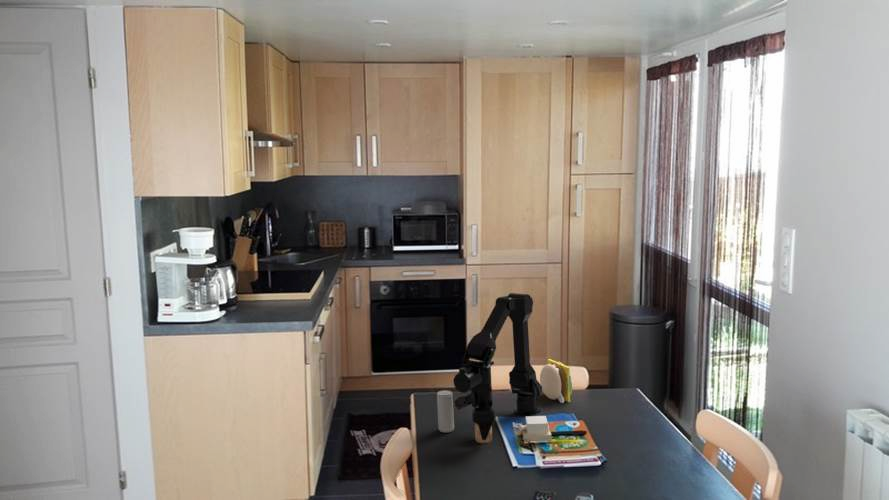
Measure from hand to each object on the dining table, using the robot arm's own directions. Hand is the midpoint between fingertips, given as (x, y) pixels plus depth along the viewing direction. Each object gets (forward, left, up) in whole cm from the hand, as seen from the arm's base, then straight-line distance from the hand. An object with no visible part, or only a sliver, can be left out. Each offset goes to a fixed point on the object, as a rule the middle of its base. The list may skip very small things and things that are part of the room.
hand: (483, 433), depth 209 cm
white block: (-11, +11, +1) cm, 16 cm away
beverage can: (+2, -14, -2) cm, 14 cm away
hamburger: (-43, -6, -2) cm, 43 cm away
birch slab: (-11, +11, -2) cm, 16 cm away
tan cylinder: (0, 0, -2) cm, 2 cm away
